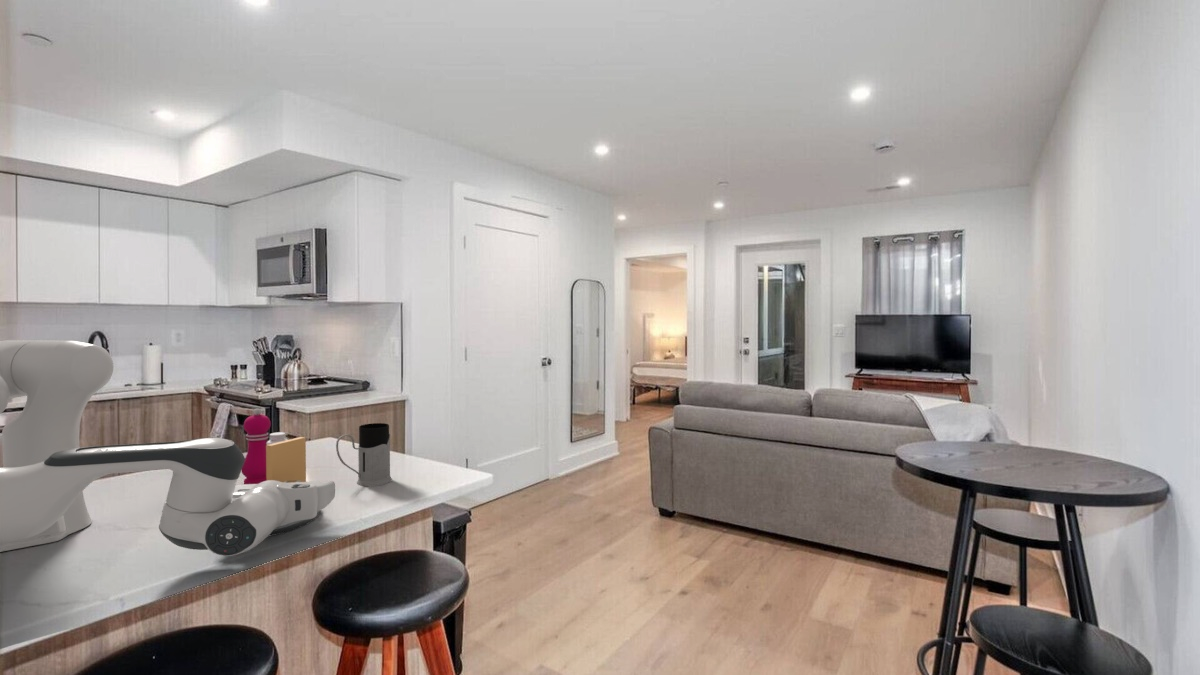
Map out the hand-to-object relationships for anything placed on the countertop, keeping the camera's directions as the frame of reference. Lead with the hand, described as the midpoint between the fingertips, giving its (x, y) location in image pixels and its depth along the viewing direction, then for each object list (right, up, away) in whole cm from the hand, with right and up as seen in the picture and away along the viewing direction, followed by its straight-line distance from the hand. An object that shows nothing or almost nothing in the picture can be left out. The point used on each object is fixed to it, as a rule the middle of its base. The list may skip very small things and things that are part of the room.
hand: (293, 483), depth 122 cm
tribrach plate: (-7, -8, 0) cm, 10 cm away
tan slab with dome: (-5, -5, +3) cm, 8 cm away
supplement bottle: (-26, -6, +39) cm, 47 cm away
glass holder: (+5, -7, +26) cm, 27 cm away
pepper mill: (-22, -7, +24) cm, 33 cm away
